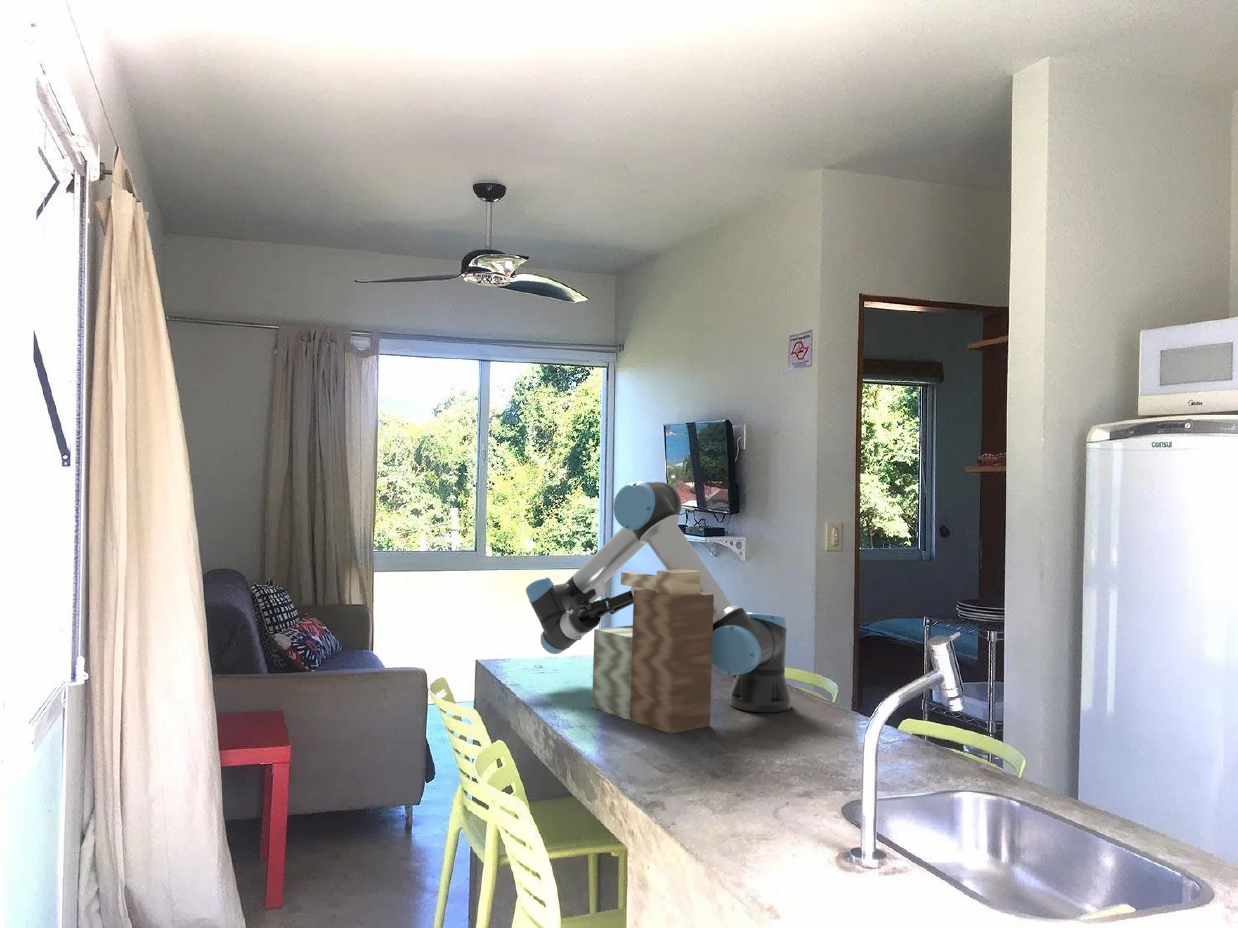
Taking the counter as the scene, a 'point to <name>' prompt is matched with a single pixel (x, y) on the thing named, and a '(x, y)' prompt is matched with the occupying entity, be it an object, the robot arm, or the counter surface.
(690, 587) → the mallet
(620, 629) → the step stand
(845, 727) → the counter surface
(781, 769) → the counter surface
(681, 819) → the counter surface
